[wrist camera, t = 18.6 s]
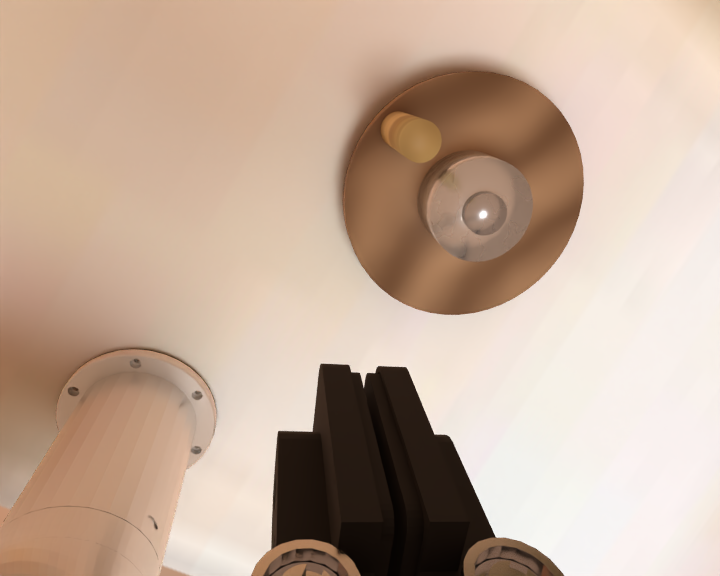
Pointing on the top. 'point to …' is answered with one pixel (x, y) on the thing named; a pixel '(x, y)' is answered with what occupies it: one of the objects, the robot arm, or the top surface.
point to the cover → (475, 205)
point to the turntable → (430, 144)
